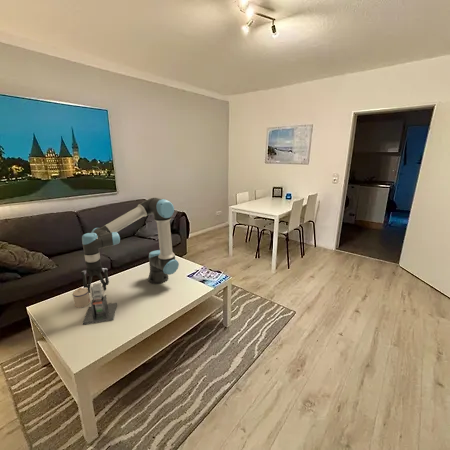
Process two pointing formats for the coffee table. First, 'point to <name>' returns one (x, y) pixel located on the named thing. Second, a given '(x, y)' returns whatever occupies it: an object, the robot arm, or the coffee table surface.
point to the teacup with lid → (81, 297)
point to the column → (98, 297)
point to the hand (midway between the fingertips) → (98, 296)
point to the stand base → (96, 318)
